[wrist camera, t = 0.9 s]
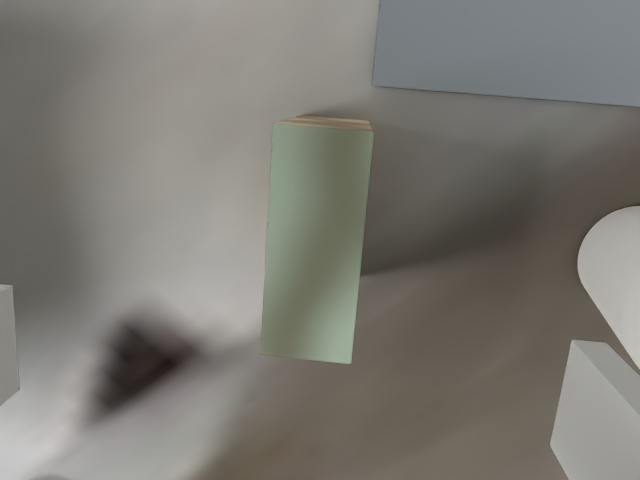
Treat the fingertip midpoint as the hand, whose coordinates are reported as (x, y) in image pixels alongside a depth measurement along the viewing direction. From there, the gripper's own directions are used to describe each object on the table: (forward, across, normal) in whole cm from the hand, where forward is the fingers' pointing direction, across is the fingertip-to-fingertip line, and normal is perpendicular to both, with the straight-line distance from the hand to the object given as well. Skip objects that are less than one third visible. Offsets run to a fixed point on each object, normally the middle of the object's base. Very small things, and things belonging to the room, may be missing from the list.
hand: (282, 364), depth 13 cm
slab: (+22, 0, 0) cm, 22 cm away
